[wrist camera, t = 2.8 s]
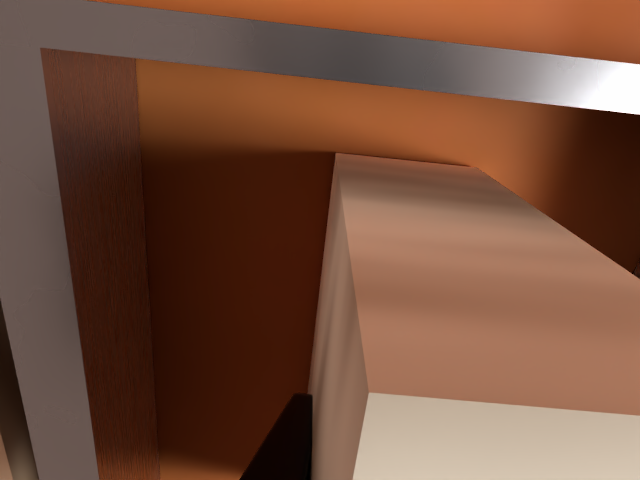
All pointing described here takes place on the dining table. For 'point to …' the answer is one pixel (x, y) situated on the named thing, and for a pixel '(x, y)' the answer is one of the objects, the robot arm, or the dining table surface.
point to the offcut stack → (13, 418)
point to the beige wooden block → (467, 335)
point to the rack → (127, 189)
